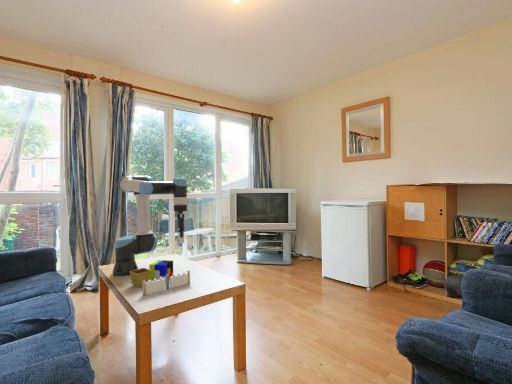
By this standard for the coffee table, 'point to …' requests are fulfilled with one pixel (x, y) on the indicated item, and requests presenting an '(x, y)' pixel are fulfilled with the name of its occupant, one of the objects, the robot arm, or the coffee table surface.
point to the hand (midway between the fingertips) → (181, 241)
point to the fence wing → (180, 279)
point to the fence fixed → (155, 285)
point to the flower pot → (140, 276)
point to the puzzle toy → (161, 269)
